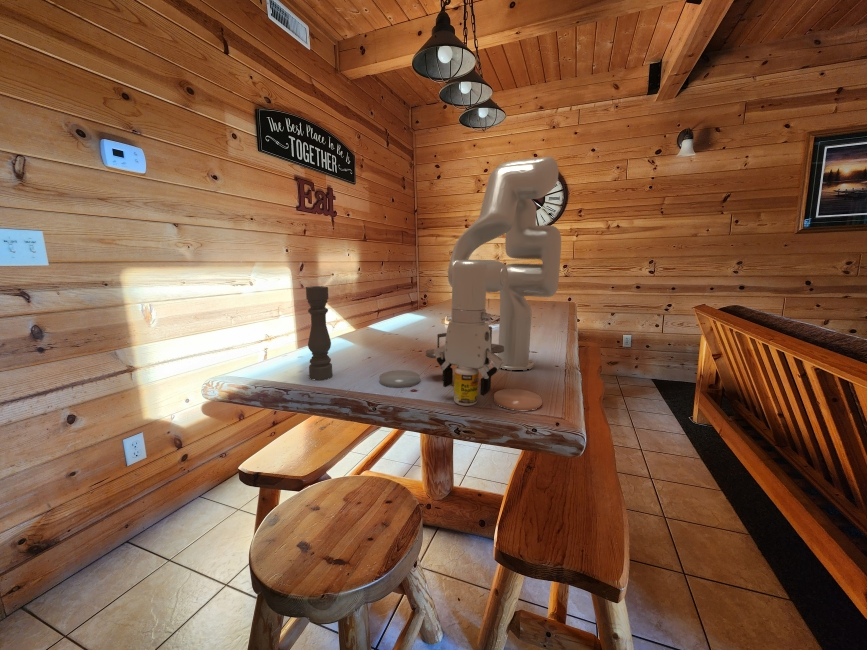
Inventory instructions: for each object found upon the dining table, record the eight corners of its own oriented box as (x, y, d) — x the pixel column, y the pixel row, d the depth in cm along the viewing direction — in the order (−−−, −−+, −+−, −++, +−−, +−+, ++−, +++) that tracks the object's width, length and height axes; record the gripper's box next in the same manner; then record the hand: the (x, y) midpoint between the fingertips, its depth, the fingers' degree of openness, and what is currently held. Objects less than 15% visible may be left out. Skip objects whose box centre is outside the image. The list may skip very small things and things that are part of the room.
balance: (434, 372, 108) (434, 317, 105) (506, 387, 96) (509, 325, 93) (420, 378, 102) (420, 320, 99) (495, 396, 90) (498, 330, 87)
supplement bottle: (458, 407, 83) (459, 363, 81) (450, 398, 88) (451, 357, 86) (481, 405, 84) (483, 362, 82) (472, 396, 89) (473, 355, 87)
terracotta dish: (504, 390, 94) (504, 385, 94) (547, 399, 88) (548, 394, 88) (486, 404, 85) (486, 399, 85) (532, 415, 79) (533, 410, 79)
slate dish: (396, 372, 108) (396, 368, 107) (427, 379, 102) (427, 374, 102) (370, 382, 99) (370, 378, 98) (403, 390, 93) (403, 386, 92)
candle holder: (306, 380, 100) (301, 288, 95) (313, 373, 106) (308, 286, 101) (329, 380, 100) (325, 288, 95) (334, 373, 106) (331, 286, 101)
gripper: (511, 318, 81) (507, 392, 84) (444, 311, 90) (442, 378, 93) (497, 322, 74) (493, 402, 77) (426, 314, 84) (425, 386, 87)
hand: (465, 389), depth 85 cm, fingers open, 9 cm apart
